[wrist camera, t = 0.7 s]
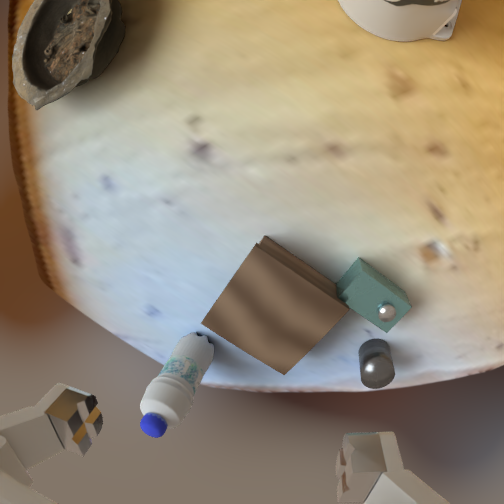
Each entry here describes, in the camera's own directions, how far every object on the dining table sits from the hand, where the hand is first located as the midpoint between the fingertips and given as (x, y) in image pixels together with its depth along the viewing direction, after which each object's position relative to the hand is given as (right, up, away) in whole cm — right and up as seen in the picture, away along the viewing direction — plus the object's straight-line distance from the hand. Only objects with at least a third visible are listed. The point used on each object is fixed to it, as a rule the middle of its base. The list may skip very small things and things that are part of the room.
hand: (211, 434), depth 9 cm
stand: (+5, -1, +38) cm, 38 cm away
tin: (+20, -10, +38) cm, 44 cm away
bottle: (-8, -10, +44) cm, 46 cm away
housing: (+18, +1, +35) cm, 39 cm away
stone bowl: (-26, +40, +29) cm, 56 cm away
